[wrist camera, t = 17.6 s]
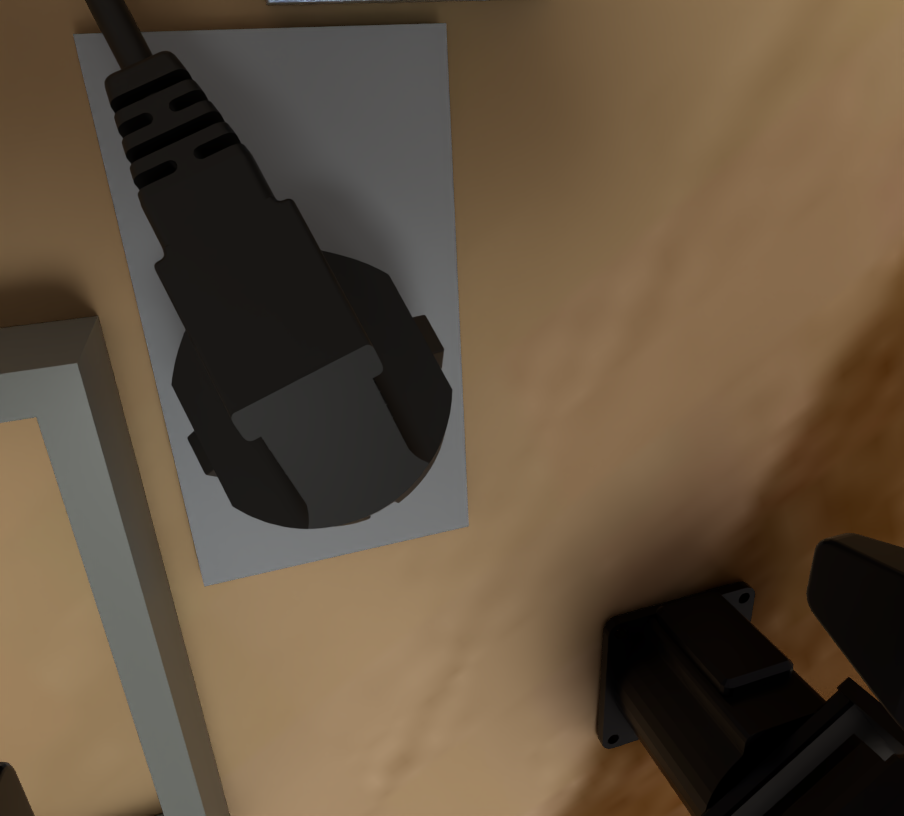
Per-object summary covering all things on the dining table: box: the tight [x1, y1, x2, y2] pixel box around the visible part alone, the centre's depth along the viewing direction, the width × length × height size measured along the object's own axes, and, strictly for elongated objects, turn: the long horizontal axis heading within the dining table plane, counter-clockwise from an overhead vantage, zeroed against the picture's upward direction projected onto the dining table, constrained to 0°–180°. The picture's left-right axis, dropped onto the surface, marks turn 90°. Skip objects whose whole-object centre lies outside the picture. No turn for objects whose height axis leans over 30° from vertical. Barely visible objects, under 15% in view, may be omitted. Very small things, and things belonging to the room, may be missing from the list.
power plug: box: [85, 0, 452, 529], centre depth 16 cm, size 6×8×12 cm
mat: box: [73, 23, 469, 586], centre depth 19 cm, size 14×8×1 cm, turn 3°
